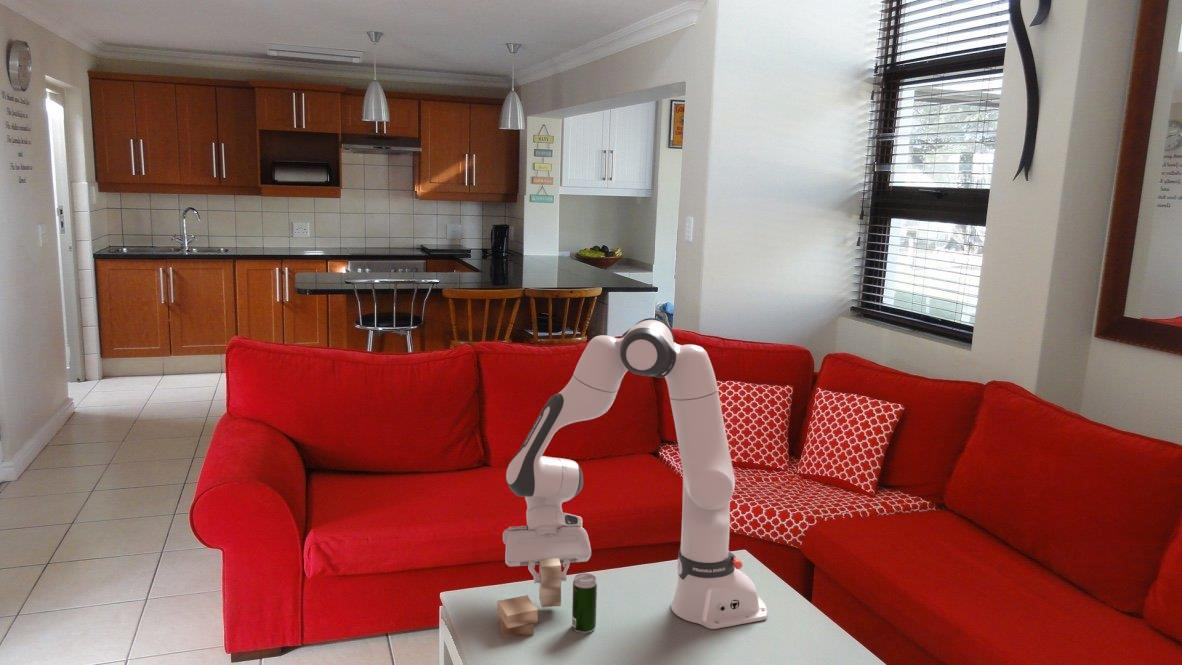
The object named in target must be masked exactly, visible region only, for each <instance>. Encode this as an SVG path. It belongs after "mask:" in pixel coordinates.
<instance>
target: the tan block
mask: <svg viewBox="0 0 1182 665" xmlns="http://www.w3.org/2000/svg"><path fill="white" fill-rule="evenodd" d="M538 567H539V569H538V570H539V571H538V572H539V573H540V574H541V583H538V584H539V585H538V586H539V588H538V590H539V591H538V592H539V594H538V596H539V602H540V606H541V608H550V607H551V608H552V607H561V606H562V581H561V572H562V563H560V560H559V558H552V559H540V561H539V566H538Z"/></svg>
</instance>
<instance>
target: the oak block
mask: <svg viewBox="0 0 1182 665" xmlns="http://www.w3.org/2000/svg"><path fill="white" fill-rule="evenodd" d="M496 603H497V610H496V612H497V615H498V616H500V618H501V619H502V621H503V622H504V624H505V625H506V627H507V628H512V627H517V626H522V625H526V624H531V623H538V621H539V620H538V618H539V616H538V612H539V610H538V607H537V606H536V605H535V604H534V603H533V601H532V600H531V599H530V597H529V596H528V595H521V596H515V597H510V598H506V599H502V600H497V602H496Z"/></svg>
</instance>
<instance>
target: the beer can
mask: <svg viewBox="0 0 1182 665" xmlns="http://www.w3.org/2000/svg"><path fill="white" fill-rule="evenodd" d="M597 595H598V581H597V577H596V576H595V575H594V574H593V573H586V572H585V573H583V572H582V573H578V574H576V575H574V577H573V581H572V605H571V606H572V607H571V608H572V609H571V610H572V611H571V627H572V630H575V631H574V632H576V633H577V632H578V634H581V633H582V634H584V635H586V634H585V633H587V634H590V633H593V632H594V630H596V626H597V605H598V604H597V603H598V602H597V599H598V596H597ZM592 631H593V632H592ZM582 634H581V635H582Z"/></svg>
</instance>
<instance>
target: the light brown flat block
mask: <svg viewBox="0 0 1182 665" xmlns="http://www.w3.org/2000/svg"><path fill="white" fill-rule="evenodd" d="M498 616H499V615H498ZM498 619H499V621H498V622H499V629H500V636H501V638H514V637H515V638H517V637H529V636H534V634H535V633H534V629H535V627H534V626H535V625H534V623H531V624H526V625H522V626H517V627H512V628H507V627H506V625H505V624H504V622H503V621H502V619H501V618H500V616H499V617H498Z"/></svg>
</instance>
